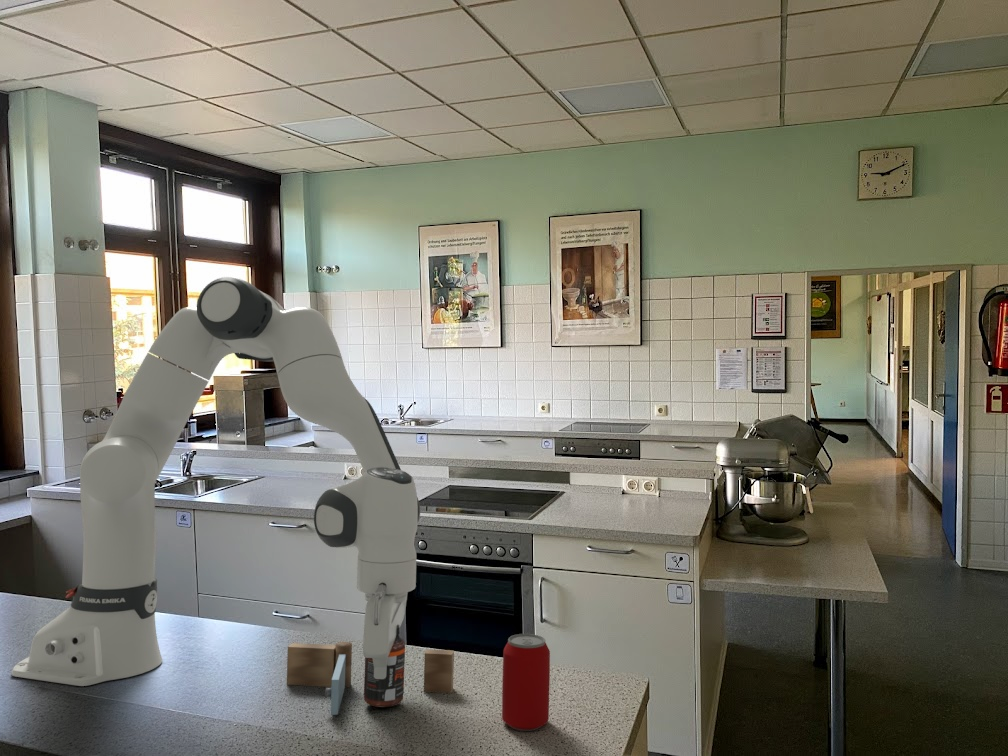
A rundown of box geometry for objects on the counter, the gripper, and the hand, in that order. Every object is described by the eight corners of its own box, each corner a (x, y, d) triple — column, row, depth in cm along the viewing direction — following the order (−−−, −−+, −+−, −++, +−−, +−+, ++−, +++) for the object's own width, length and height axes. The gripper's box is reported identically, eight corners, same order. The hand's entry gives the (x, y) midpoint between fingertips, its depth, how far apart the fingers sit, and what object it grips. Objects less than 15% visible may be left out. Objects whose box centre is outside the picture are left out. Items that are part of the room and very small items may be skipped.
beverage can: (546, 714, 114) (548, 632, 115) (550, 733, 107) (552, 647, 108) (500, 713, 114) (502, 632, 114) (502, 733, 107) (504, 646, 108)
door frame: (285, 685, 123) (287, 644, 124) (291, 679, 126) (292, 639, 126) (451, 693, 121) (451, 652, 122) (453, 687, 124) (454, 646, 124)
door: (332, 686, 122) (332, 654, 122) (344, 686, 122) (345, 654, 123) (323, 715, 111) (324, 679, 111) (337, 714, 111) (338, 679, 111)
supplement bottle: (401, 709, 113) (403, 631, 113) (360, 708, 113) (363, 631, 113) (405, 693, 119) (407, 620, 119) (366, 693, 119) (369, 619, 119)
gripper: (399, 594, 106) (396, 695, 106) (414, 562, 127) (411, 647, 126) (353, 593, 106) (350, 694, 106) (375, 562, 127) (373, 646, 126)
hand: (384, 668), depth 116 cm, fingers closed on supplement bottle, 6 cm apart
